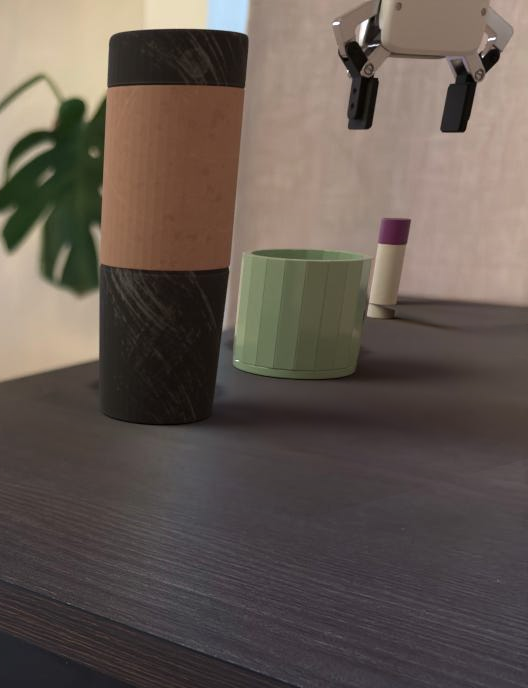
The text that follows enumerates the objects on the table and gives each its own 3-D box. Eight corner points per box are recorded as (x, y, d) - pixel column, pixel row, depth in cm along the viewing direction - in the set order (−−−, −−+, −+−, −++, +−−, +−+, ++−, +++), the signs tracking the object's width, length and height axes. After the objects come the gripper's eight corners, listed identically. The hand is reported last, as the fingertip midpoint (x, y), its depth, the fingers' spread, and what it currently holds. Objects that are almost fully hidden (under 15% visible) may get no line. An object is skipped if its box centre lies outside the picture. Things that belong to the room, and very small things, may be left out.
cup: (318, 353, 77) (333, 247, 74) (379, 376, 69) (398, 259, 66) (213, 357, 75) (223, 248, 72) (263, 381, 67) (277, 261, 64)
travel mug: (241, 415, 59) (282, 35, 50) (147, 432, 55) (171, 24, 46) (161, 391, 64) (184, 46, 55) (70, 405, 61) (78, 36, 51)
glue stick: (385, 314, 96) (401, 217, 92) (399, 318, 94) (417, 219, 90) (361, 315, 96) (376, 217, 91) (375, 319, 93) (391, 219, 89)
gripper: (507, -84, 84) (463, 133, 92) (331, -100, 81) (301, 128, 89) (566, -102, 78) (513, 133, 86) (378, -120, 74) (341, 128, 82)
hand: (406, 130), depth 87 cm, fingers open, 9 cm apart
